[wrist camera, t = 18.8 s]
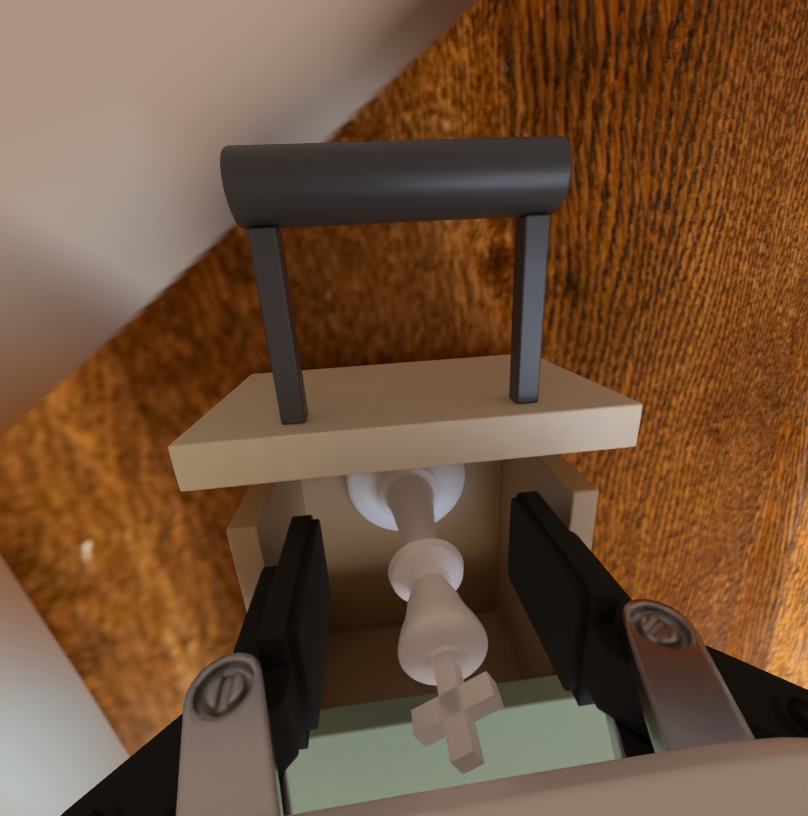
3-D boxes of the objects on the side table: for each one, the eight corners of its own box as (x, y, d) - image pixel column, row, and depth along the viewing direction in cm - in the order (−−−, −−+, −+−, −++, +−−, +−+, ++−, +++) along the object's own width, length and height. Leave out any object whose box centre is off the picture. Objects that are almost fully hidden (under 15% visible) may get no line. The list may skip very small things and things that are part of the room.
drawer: (217, 204, 13) (73, 131, 6) (539, 191, 14) (691, 116, 7) (300, 629, 19) (269, 802, 13) (515, 601, 20) (586, 750, 14)
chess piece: (482, 486, 16) (644, 768, 7) (386, 541, 17) (416, 878, 7) (426, 395, 15) (539, 603, 5) (321, 458, 15) (253, 755, 6)
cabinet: (277, 547, 19) (213, 754, 11) (523, 519, 20) (637, 689, 12) (317, 738, 23) (292, 980, 15) (512, 708, 24) (586, 920, 16)
